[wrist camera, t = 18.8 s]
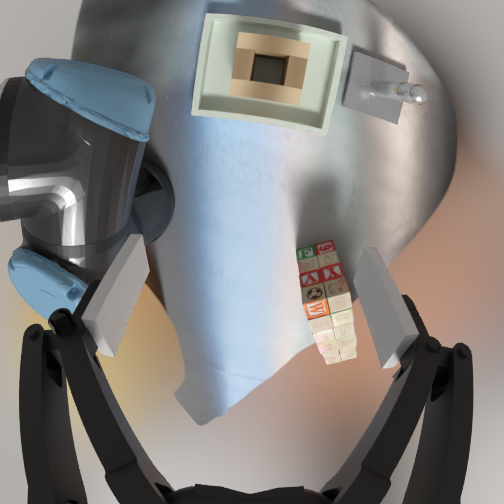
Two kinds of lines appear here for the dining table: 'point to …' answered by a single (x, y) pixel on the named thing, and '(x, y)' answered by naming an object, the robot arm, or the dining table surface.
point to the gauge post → (380, 88)
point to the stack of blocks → (327, 301)
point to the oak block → (270, 48)
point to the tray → (267, 74)
